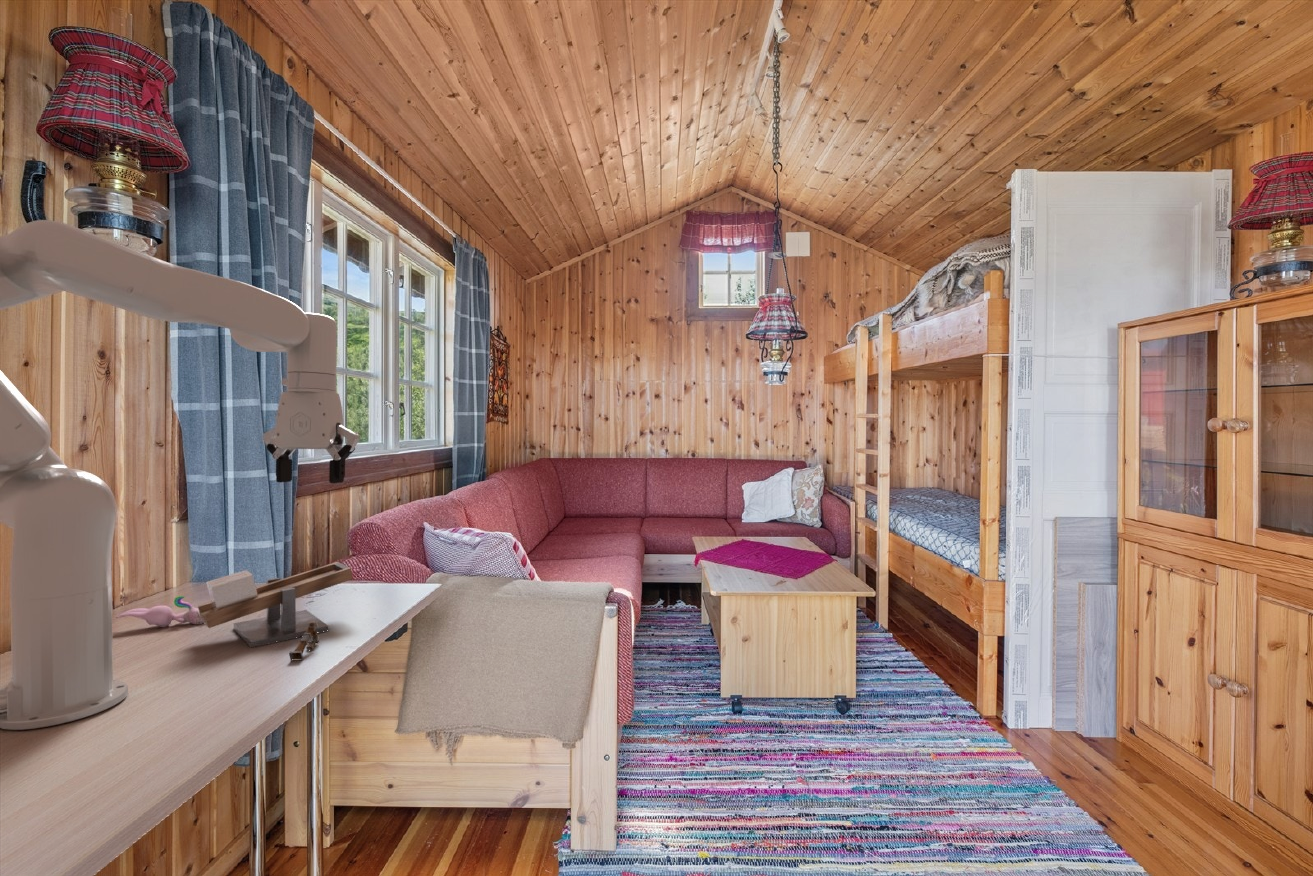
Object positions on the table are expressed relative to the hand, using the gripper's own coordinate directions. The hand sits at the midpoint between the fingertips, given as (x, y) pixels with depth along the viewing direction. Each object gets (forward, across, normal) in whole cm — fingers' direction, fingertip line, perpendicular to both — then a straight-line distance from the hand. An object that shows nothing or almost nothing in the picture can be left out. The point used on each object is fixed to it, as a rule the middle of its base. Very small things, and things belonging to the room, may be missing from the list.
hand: (310, 482), depth 106 cm
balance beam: (+22, -8, +4) cm, 23 cm away
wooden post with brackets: (+28, +4, -6) cm, 29 cm away
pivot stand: (+28, -8, +4) cm, 29 cm away
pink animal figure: (+28, -31, +5) cm, 42 cm away
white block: (+22, -13, -1) cm, 25 cm away
